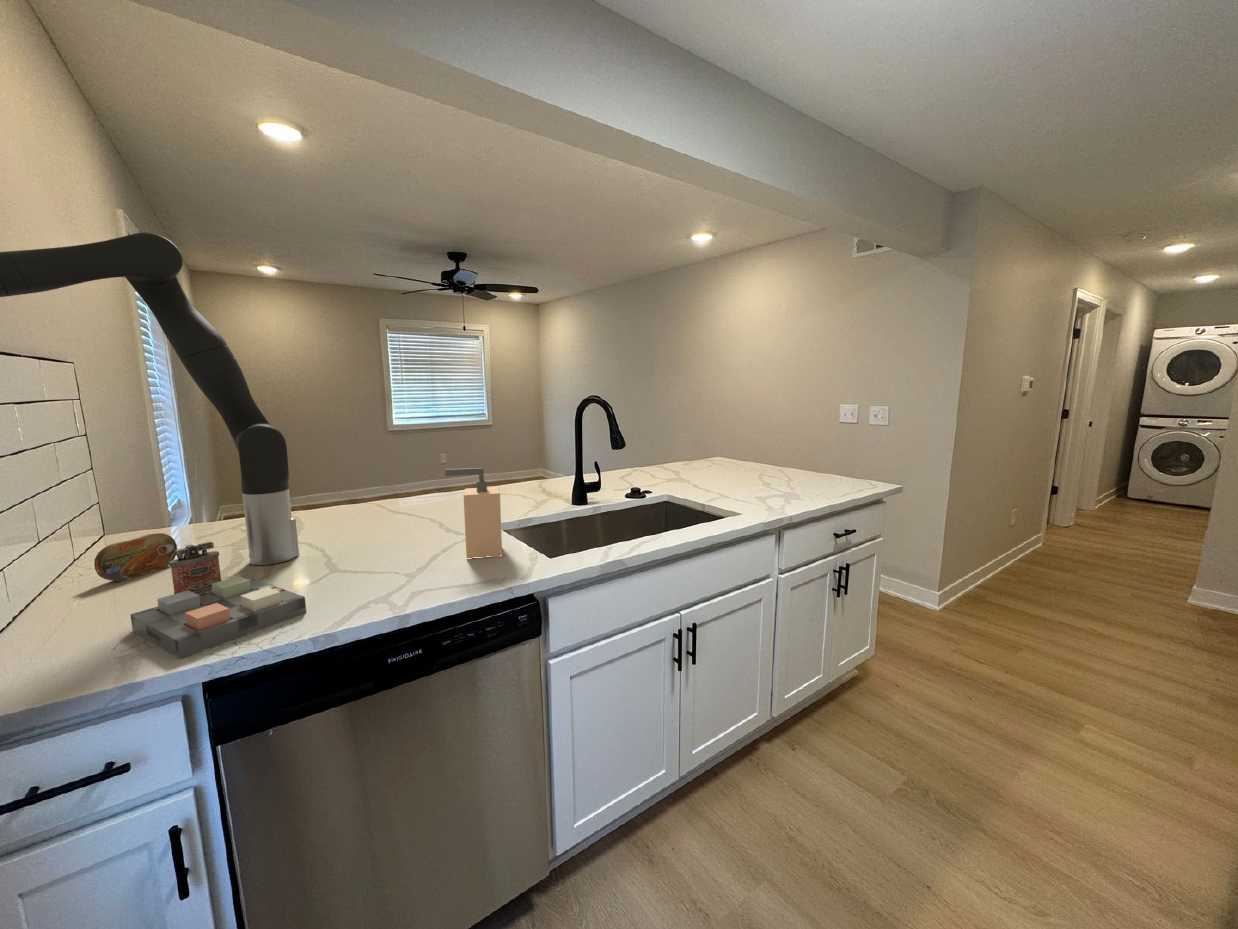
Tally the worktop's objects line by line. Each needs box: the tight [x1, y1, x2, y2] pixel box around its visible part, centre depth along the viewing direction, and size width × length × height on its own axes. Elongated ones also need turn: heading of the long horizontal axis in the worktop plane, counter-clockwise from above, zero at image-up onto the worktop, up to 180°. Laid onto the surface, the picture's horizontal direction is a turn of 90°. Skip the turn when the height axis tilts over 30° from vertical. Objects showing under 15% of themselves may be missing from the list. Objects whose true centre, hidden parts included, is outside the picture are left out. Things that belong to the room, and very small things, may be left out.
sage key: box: [212, 576, 251, 599], centre depth 96 cm, size 4×4×2 cm
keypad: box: [130, 578, 307, 660], centre depth 90 cm, size 19×19×3 cm
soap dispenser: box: [444, 467, 503, 558], centre depth 126 cm, size 13×9×22 cm
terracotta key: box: [185, 603, 230, 631], centre depth 83 cm, size 4×4×2 cm
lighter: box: [168, 541, 222, 595], centre depth 103 cm, size 8×3×10 cm, turn 148°
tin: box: [93, 532, 178, 582], centre depth 113 cm, size 15×3×8 cm, turn 168°
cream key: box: [241, 587, 281, 612], centre depth 90 cm, size 4×4×2 cm
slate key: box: [156, 590, 201, 616], centre depth 89 cm, size 4×4×2 cm
